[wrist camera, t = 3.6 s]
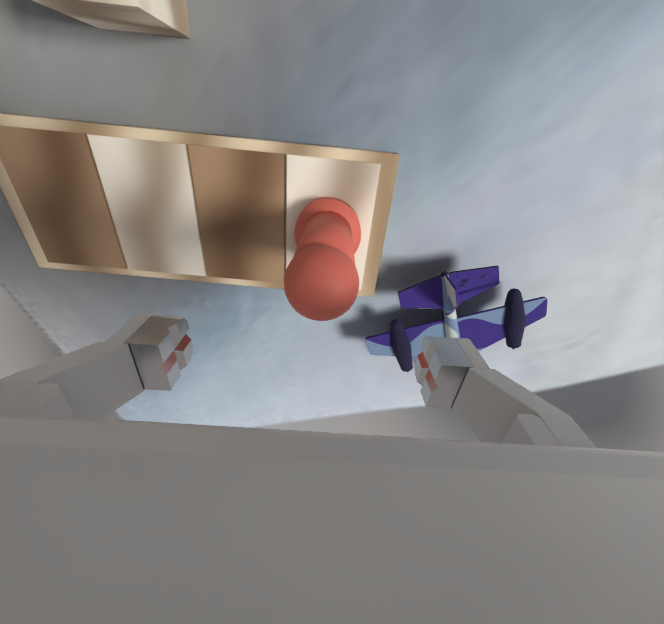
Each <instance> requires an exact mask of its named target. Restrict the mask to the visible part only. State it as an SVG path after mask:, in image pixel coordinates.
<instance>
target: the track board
mask: <svg viewBox="0 0 664 624" xmlns="http://www.w3.org/2000/svg"><path fill="white" fill-rule="evenodd" d="M399 158H400V154H398V153H391V152H381V151H371V150H361V149H352V148H342V147H332V146H322V145H312V144H302V143H292V142H283V141H273V140H263V139H253V138H243V137H233V136H223V135H214V134H204V133H194V132H184V131H174V130H164V129H154V128H145V127H135V126H125V125H115V124H105V123H95V122H85V121H76V120H66V119H56V118H46V117H36V116H26V115H16V114H7V113H0V187H1V189H2V191H3V193H4V196H5V198H6V200H7V202H8V204H9V206H10V208H11V210H12V212H13V214H14V216H15V218H16V220H17V222H18V224H19V227H20V229H21V231H22V233H23V235H24V237H25V239H26V241H27V243H28V245H29V247H30V249H31V251H32V253H33V255H34V258H35V260H36V262H37V264H38V266H39V267H43V268H54V269H66V270H77V271H88V272H99V273H111V274H122V275H133V276H144V277H155V278H167V279H178V280H189V281H200V282H212V283H223V284H234V285H245V286H257V287H268V288H279V289H284V276H285V272H286V269H287V267H288V265H289V263H290V261H291V260H292V259H293V257H294V254H295V251H296V249H297V245H296V242H295V237H294V230H295V224H296V222H297V219H298V217H299V215H300V213H301V211H302V210H303V209H304V207H305V206H306V205H307V204H309V203H310V202H312V201H313V200H315V199H318V198H322V197H334V198H338V199H341V200H343V201H344V202H346V203H347V204H349V205H350V206H351V207H352V208H353V210H354V211H355V212H356V214H357V216H358V219H359V223H360V228H361V241H360V244H359V247H358V249H357V251H356V253H355V254H354V257H355V267H356V269H357V272H358V276H359V291H358V294H357V295H358V296H369V297H374V292H375V287H376V281H377V276H378V271H379V265H380V260H381V255H382V249H383V244H384V239H385V233H386V228H387V222H388V217H389V212H390V206H391V201H392V196H393V190H394V185H395V180H396V174H397V169H398V164H399Z"/></svg>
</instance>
